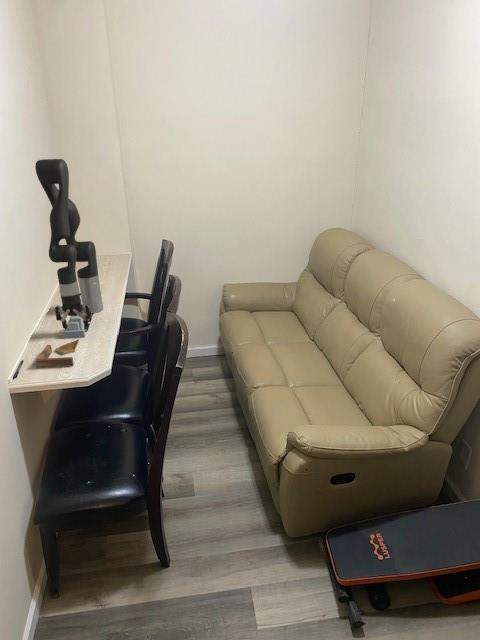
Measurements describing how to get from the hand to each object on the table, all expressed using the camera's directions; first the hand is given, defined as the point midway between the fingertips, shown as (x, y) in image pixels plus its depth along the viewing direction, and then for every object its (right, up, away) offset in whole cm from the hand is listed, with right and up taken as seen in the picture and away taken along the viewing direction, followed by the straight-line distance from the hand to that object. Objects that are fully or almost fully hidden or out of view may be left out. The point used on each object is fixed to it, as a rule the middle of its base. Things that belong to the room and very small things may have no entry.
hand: (76, 328), depth 200 cm
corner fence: (+1, -12, -22) cm, 25 cm away
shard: (+1, -8, -13) cm, 15 cm away
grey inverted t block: (0, -2, +1) cm, 2 cm away
